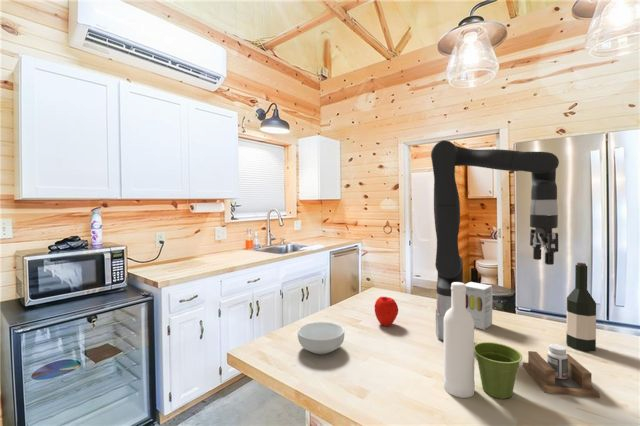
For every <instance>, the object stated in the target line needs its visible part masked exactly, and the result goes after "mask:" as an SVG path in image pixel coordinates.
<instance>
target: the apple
mask: <svg viewBox="0 0 640 426" xmlns="http://www.w3.org/2000/svg"><path fill="white" fill-rule="evenodd" d="M374 313H375V316H376V319H377V321H378V322H379V324H380V325H381V326H384V327H390V326H391V325H392V324H393V323H394V322H395V320H396V319H397V317H398V314H399V306H398V304H397V302H396V300H395V299H394V298H391V297H387V296H379V297H378V298H377V299H376V301H375V303H374Z"/></svg>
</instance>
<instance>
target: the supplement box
mask: <svg viewBox="0 0 640 426" xmlns="http://www.w3.org/2000/svg"><path fill="white" fill-rule="evenodd" d="M464 284H465V285H466V310H467V311H468V312H469V313H470V314H471V315H472V318H473V321H474V328H475V329H480V330H483V331H485V330H486V329H488V328H489V327H490V326H492V324H493V285H491V284H484V283H480V282H473V281H470V282H467V283H464Z"/></svg>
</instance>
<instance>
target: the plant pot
mask: <svg viewBox="0 0 640 426" xmlns="http://www.w3.org/2000/svg"><path fill="white" fill-rule="evenodd" d="M474 355H475V358H476V361H477V366H478V370H479V371H478V372H479V376H480V382H481V387H482V390H483V391H484V392H486V393H487V394H488V395H489V396H491V397H493V398H495V399H501V400H502V399H503V400H504V399H507V398H511V397H512V396H513V392H514V386H515V384H516V383H515V382H516V376H517V372H518V368H519V366H520V362H521V361H522V360H523V355H522V353H521V352H519V350H517V349H516V348H514V347H511V346H509V345H506V344H502V343H498V342H492V341H484V342H481V341H480V342H477V343H474Z"/></svg>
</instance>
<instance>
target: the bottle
mask: <svg viewBox="0 0 640 426" xmlns="http://www.w3.org/2000/svg"><path fill="white" fill-rule="evenodd" d="M465 284H466V283H464V282H463V283H461V282H453V283H452V284H451V308H450V309H449V310H448V311H447V312H446V313H445V316H444V340H443V378H442V379H443V388H444V391H446V392H447V393H448V394H450V395H451V396H454V397H456V398H461V399H462V398H463V399H466V398H467V399H468V398H471V397H473V396H474V394H475V386H476V385H475V352H474V345H475V327H474V321H473V318H472V315H471V314H470V313H469V312H468V311H467V310H466V285H465Z"/></svg>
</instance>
